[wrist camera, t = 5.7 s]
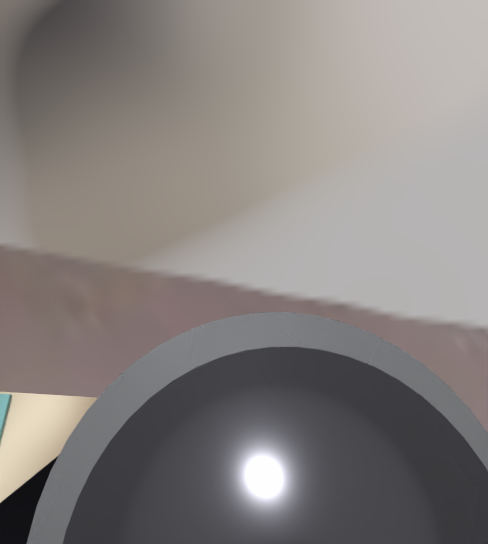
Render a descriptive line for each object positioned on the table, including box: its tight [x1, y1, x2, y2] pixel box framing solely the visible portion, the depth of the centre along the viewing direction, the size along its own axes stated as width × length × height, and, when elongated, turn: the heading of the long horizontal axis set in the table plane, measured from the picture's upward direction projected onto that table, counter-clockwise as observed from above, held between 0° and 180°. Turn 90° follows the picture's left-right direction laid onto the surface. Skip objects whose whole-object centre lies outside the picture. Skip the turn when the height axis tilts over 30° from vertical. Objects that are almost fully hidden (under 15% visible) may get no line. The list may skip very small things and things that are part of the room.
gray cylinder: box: [27, 312, 488, 544], centre depth 9 cm, size 5×5×11 cm
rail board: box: [0, 392, 97, 503], centre depth 17 cm, size 23×9×3 cm, turn 87°
